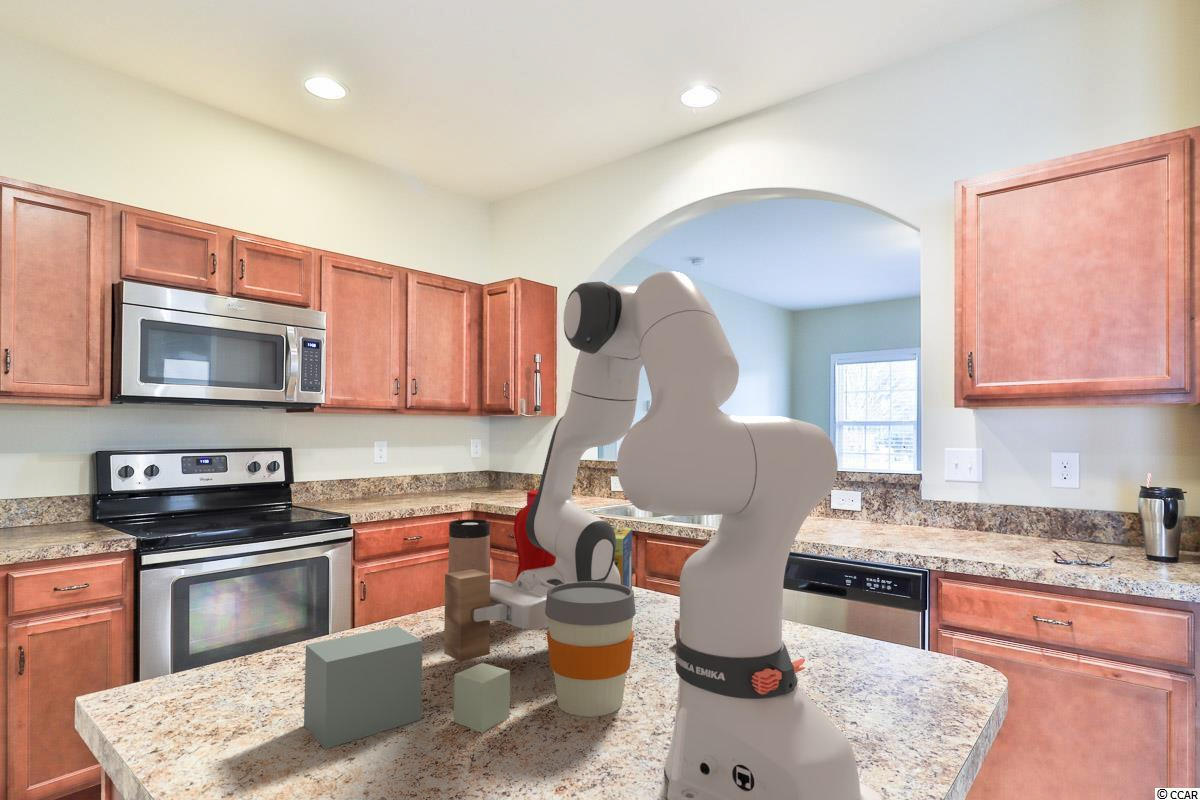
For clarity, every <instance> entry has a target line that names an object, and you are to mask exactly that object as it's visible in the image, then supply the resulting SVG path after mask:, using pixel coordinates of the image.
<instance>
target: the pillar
mask: <svg viewBox="0 0 1200 800" xmlns="http://www.w3.org/2000/svg"><path fill="white" fill-rule="evenodd" d="M490 580H491V573H490V574H488V573H485V572H481V571H478V570H474V569H473V570H466V571H460V572H453V573H448V572H447V573H444V632H443V633H444V635H443V636H444V637H443V638H444V641H443V645H444V651H443V652H444V653H443V654H444V655H446V656H447V657H450V658H452V659H454V660H456V661H458V663H459V662H460V663H462V662H465V661H468V660H472V659H473V660H474V659H477V658H480V657H485V656H489V655H491V649H490V648H491V620H485V621H480V622H476V621H474V620H472V619H471V618H470V616H471V609H472V608H476V607H480V606H481V607H489V606H490Z"/></svg>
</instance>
